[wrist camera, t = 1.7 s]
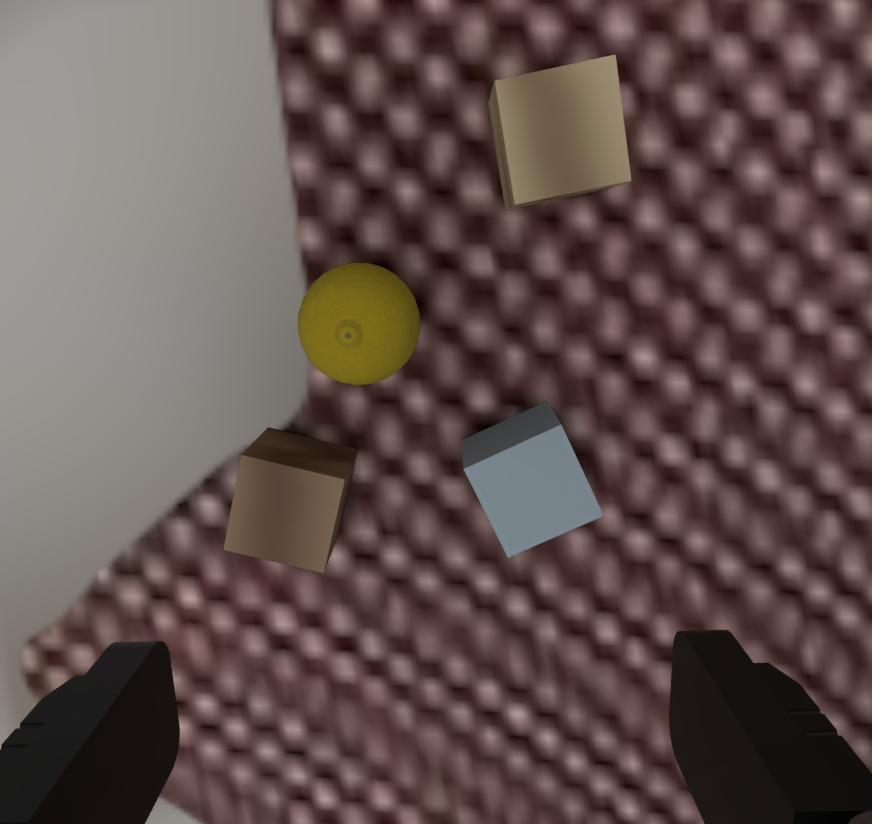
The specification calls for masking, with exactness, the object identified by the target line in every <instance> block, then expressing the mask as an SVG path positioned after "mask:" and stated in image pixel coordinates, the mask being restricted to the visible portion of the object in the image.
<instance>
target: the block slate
mask: <svg viewBox="0 0 872 824" xmlns="http://www.w3.org/2000/svg"><path fill="white" fill-rule="evenodd" d="M462 451H463V468H464V471H465V473H466V475H467V477H468V479H469V481H470V483H471V485H472V487H473V489H474V491H475V493H476V495H477V497H478V499H479V501H480V503H481V505H482V507H483V509H484V511H485V513H486V515H487V517H488V519H489V521H490V523H491V525H492V527H493V529H494V531H495V533H496V535H497V537H498V539H499V541H500V543H501V544H502V546H503V548H504V550H505V552H506V554H507V556H508V557H510V556H513V555H515V554H517V553H520V552H522V551H524V550H526V549H529V548H531V547H533V546H536V545H538V544H540V543H543V542H545V541H547V540H549V539H552V538H554V537H556V536H559V535H561V534H563V533H565V532H568V531H570V530H572V529H575V528H577V527H579V526H581V525H584V524H586V523H588V522H591V521H593V520H595V519H597V518H600V517H602V516H604V515H603V513H602V511H601V509H600V507H599V505H598V503H597V500H596V498H595V496H594V494H593V492H592V490H591V487H590V485H589V483H588V481H587V479H586V477H585V474H584V472H583V470H582V468H581V466H580V464H579V461H578V459H577V457H576V455H575V453H574V451H573V448H572V446H571V444H570V442H569V440H568V438H567V435H566V433H565V431H564V429H563V427H562V425H561V423H560V421H559V420H558V418H557V416H556V415H555V413H554V412H553V410H552V408H551V407H550V405H549V403H548V402H547V401H545V402H543V403H541V404H539V405H537V406H535V407H532V408H530V409H528V410H526V411H524V412H522V413H520V414H517V415H515V416H513V417H511V418H509V419H507V420H504V421H502V422H500V423H498V424H496V425H494V426H492V427H489V428H487V429H485V430H483V431H481V432H479V433H476V434H474V435H472V436H470V437H468V438H466V439H463V440H462Z"/></svg>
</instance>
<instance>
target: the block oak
mask: <svg viewBox="0 0 872 824" xmlns="http://www.w3.org/2000/svg"><path fill="white" fill-rule="evenodd" d="M488 107H489V113H490V119H491V125H492V131H493V137H494V143H495V149H496V155H497V161H498V167H499V173H500V179H501V185H502V191H503V197H504V203H505V209H506V210H508V209H513V208H518V207H522V206H527V205H532V204H537V203H542V202H547V201H552V200H557V199H561V198H566V197H571V196H576V195H581V194H586V193H591V192H596V191H601V190H605V189H608V188H611V187H614V186H617V185H620V184H623V183H626V182H629V181H631V175H630V166H629V158H628V150H627V142H626V134H625V126H624V118H623V110H622V102H621V94H620V86H619V78H618V70H617V62H616V54H615V55H611V56H606V57H602V58H597V59H592V60H588V61H583V62H579V63H574V64H569V65H565V66H560V67H556V68H551V69H546V70H542V71H537V72H532V73H528V74H523V75H519V76H514V77H509V78H505V79H500V80H496V81H494V85H493V88H492V91H491V95H490V98H489V102H488Z"/></svg>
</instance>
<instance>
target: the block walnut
mask: <svg viewBox="0 0 872 824" xmlns="http://www.w3.org/2000/svg"><path fill="white" fill-rule="evenodd" d="M357 453H358V449H355V448H351V447H347V446H342V445H338V444H334V443H330V442H326V441H322V440H317V439H313V438H309V437H305V436H301V435H297V434H292V433H288V432H284V431H280V430H278V429H274V428H267V429H266V430H265V431H264V432H263V433H262V434H261V435H260V436H259V437H258V438H257V439H256V440H255V441H254V442H253V443H252V444H251V445H250V446H249V448H248V449H247V450H246V451H245V452H244V453H243V454H242V455H241V459H240V464H239V470H238V475H237V481H236V486H235V491H234V497H233V502H232V507H231V513H230V518H229V524H228V529H227V534H226V540H225V545H224V550H226V551H231V552H235V553H239V554H243V555H248V556H252V557H256V558H261V559H265V560H269V561H273V562H278V563H282V564H286V565H291V566H295V567H299V568H303V569H308V570H312V571H316V572H321V573H324V571H325V569H326V566H327V563H328V561H329V558H330V556H331V553H332V550H333V548H334V545H335V542H336V540H337V537H338V535H339V532H340V527H341V523H342V519H343V514H344V510H345V506H346V501H347V497H348V492H349V488H350V484H351V479H352V475H353V471H354V466H355V462H356V458H357Z"/></svg>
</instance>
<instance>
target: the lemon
mask: <svg viewBox="0 0 872 824" xmlns="http://www.w3.org/2000/svg"><path fill="white" fill-rule="evenodd" d="M298 331H299V336H300V341H301V345H302V347H303V349H304V351H305V353H306V355H307V357H308V358H309V360H310V361H311V362H312V363H313V364H314V366H315V367H316V368H317V369H318V370H320V371H321V372H322V373H324V374H325V375H327V376H328V377H330V378H332V379H335V380H337V381H339V382H342V383H347V384H354V385H362V384H372V383H375V382H378V381H381V380H384V379H386V378H388V377H390V376H391V375H393V374H394V373H395V372H397V371H398V370H400V369H401V368H402V366H403V365H404V364H405V363H406V362H407V361H408V359H409V358H410V357H411V355H412V353H413V351H414V349H415V347H416V345H417V341H418V336H419V332H420V315H419V310H418V307H417V304H416V301H415V298H414V296H413V295H412V293H411V291H410V290H409V288H408V286H407V285H406V284H405V283H404V282H403V281H402V280H401V279H400V278H399V277H398V276H397V275H395V274H394V273H392V272H390V271H388V270H387V269H385V268H383V267H380V266H377V265H373V264H370V263H349V264H345V265H341V266H337V267H335V268H333V269H332V270H330V271H328V272H326V273H324V274H323V275H321V276H320V277H319V278H318V279H317V280H316V281H315V282H314V283H313V284H312V285H311V287H310V288H309V290H308V292H307V293H306V295H305V296H304V298H303V301H302V304H301V308H300V311H299V315H298Z"/></svg>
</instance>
